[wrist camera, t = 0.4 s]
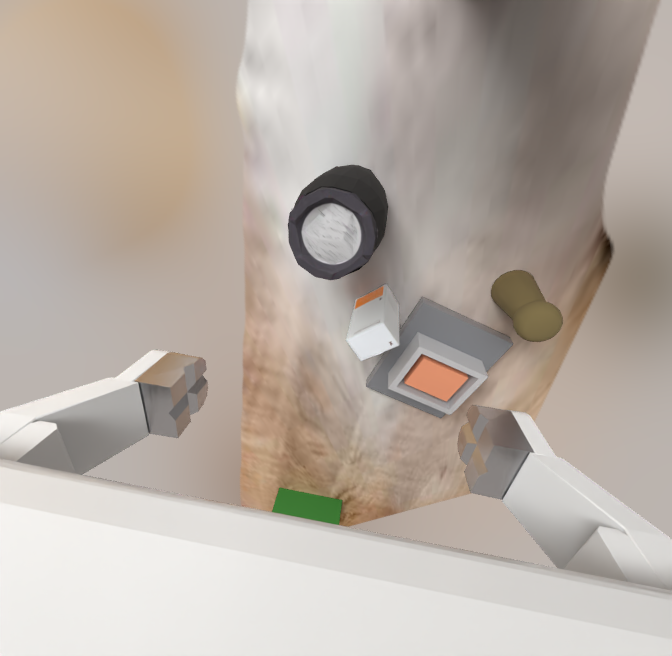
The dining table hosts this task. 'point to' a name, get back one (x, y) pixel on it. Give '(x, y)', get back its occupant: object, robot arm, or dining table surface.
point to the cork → (526, 306)
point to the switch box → (438, 355)
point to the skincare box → (374, 323)
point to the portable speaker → (338, 222)
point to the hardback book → (308, 506)
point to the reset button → (435, 377)
